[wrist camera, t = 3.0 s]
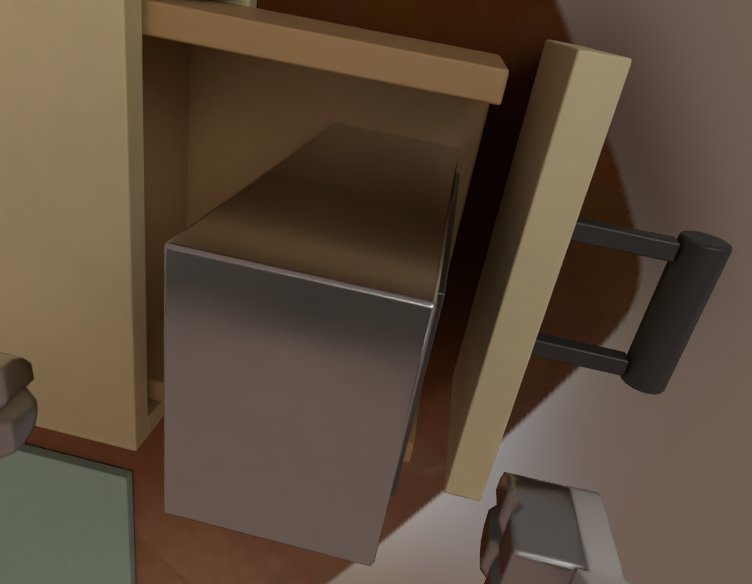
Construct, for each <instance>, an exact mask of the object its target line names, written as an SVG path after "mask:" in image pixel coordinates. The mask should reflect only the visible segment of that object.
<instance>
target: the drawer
mask: <svg viewBox="0 0 752 584" xmlns="http://www.w3.org/2000/svg"><path fill="white" fill-rule="evenodd" d="M141 5H142V71H143V136H144V202H145V267H146V333H147V398H149V399H153V400H157V401H162V402H164V246H165V244H166V243H167V242H168V241H169V240H171V239H172V238H174V237H175V236H176V235H178V234H179V233H181V232H182V231H183V230H185V229H186V228H188V227H189V226H191V225H192V224H193V223H195V222H196V221H198V220H199V219H200V218H202V217H203V216H205V215H206V214H207V213H209V212H210V211H212V210H213V209H214V208H216V207H217V206H219V205H220V204H221V203H223V202H224V201H226V200H227V199H228V198H230V197H231V196H233V195H234V194H235V193H237V192H238V191H240V190H241V189H242V188H244V187H245V186H247V185H248V184H249V183H251V182H252V181H254V180H255V179H256V178H258V177H259V176H261V175H262V174H263V173H265V172H266V171H268V170H269V169H270V168H272V167H273V166H275V165H276V164H277V163H279V162H280V161H282V160H283V159H285V158H286V157H287V156H289V155H290V154H292V153H293V152H294V151H296V150H297V149H299V148H300V147H301V146H303V145H304V144H306V143H307V142H308V141H310V140H311V139H313V138H314V137H315V136H317V135H318V134H320V133H321V132H322V131H324V130H325V129H327V128H328V127H329V126H331V125H332V124H334V123H341V124H346V125H350V126H355V127H360V128H365V129H370V130H375V131H380V132H385V133H389V134H394V135H399V136H404V137H409V138H414V139H419V140H424V141H429V142H433V143H438V144H443V145H448V146H453V147H458V148H459V149H460V153H459V159H458V166H457V173H459V174H460V178H459V186H458V194H457V202H456V210H455V218H454V226H453V234H452V242H451V250H450V258H449V266H450V262H451V258H452V254H453V250H454V246H455V242H456V238H457V233H458V229H459V225H460V221H461V217H462V213H463V209H464V205H465V201H466V197H467V193H468V189H469V185H470V181H471V177H472V173H473V169H474V165H475V161H476V157H477V153H478V149H479V145H480V141H481V137H482V133H483V128H484V124H485V120H486V116H487V112H488V108H489V104H495V105H500V104H501V102H502V98H503V94H504V90H505V86H506V82H507V78H508V75H509V71H508V69H507V67H506V65H505V64H504V62H503V60H502V58H501V57H500V56H499V55H497V54H492V53H487V52H482V51H477V50H471V49H466V48H461V47H456V46H451V45H445V44H440V43H435V42H430V41H425V40H419V39H414V38H409V37H404V36H399V35H393V34H388V33H383V32H378V31H373V30H367V29H362V28H357V27H352V26H347V25H341V24H336V23H331V22H326V21H321V20H315V19H310V18H305V17H300V16H295V15H289V14H284V13H279V12H274V11H269V10H263V9H258V8H253V7H248V6H243V5H237V4H232V3H227V2H222V1H216V0H141ZM630 65H631V59H630V58H627V57H623V56H619V55H615V54H611V53H607V52H603V51H599V50H596V49H592V48H588V47H584V46H580V45H574V44H569V43H564V42H558V41H553V40H546V41H545V44H544V48H543V52H542V55H541V59H540V63H539V66H538V70H537V73H536V77H535V81H534V84H533V88H532V91H531V95H530V99H529V102H528V106H527V110H526V113H525V117H524V120H523V124H522V128H521V131H520V135H519V138H518V142H517V146H516V149H515V153H514V156H513V160H512V164H511V167H510V171H509V175H508V178H507V182H506V185H505V189H504V193H503V196H502V200H501V203H500V207H499V211H498V214H497V218H496V222H495V225H494V229H493V232H492V236H491V240H490V243H489V247H488V250H487V254H486V258H485V261H484V265H483V269H482V272H481V276H480V279H479V283H478V287H477V290H476V294H475V297H474V301H473V305H472V308H471V312H470V315H469V319H468V323H467V326H466V330H465V334H464V337H463V341H462V344H461V348H460V352H459V355H458V359H457V362H456V366H455V370H454V373H453V380H452V393H451V407H450V420H449V434H448V447H447V461H446V474H445V488H444V491H445V493H448V494H452V495H456V496H460V497H465V498H468V499H472V500H477V501H480V500H481V498H482V495H483V492H484V489H485V486H486V483H487V480H488V477H489V475H490V472H491V469H492V466H493V463H494V460H495V457H496V454H497V451H498V448H499V446H500V443H501V440H502V437H503V434H504V431H505V428H506V425H507V422H508V419H509V417H510V414H511V411H512V408H513V405H514V402H515V399H516V396H517V393H518V390H519V387H520V385H521V382H522V379H523V376H524V373H525V370H526V367H527V364H528V361H529V358H530V356H531V355H533V356H538V357H542V358H546V359H551V360H555V361H560V362H564V363H568V364H573V365H577V366H581V367H586V368H590V369H595V370H599V371H603V372H608V373H612V374H617V375H620V376H621V378H622V380H623V381H624V382H625V383H626V384H628V385H629V386H631V387H632V388H634V389H636V390H638V391H641V392H644V393H647V394H660V393H662V392H663V391H664V390H665V388H666V386H667V384H668V381H669V380H670V378H671V375H672V373H673V371H674V369H675V367H676V365H677V363H678V361H679V359H680V357H681V355H682V353H683V351H684V349H685V346H686V345H687V343H688V340H689V338H690V336H691V334H692V332H693V330H694V328H695V326H696V324H697V322H698V320H699V317H700V316H701V314H702V312H703V310H704V307H705V305H706V303H707V301H708V299H709V297H710V295H711V293H712V291H713V289H714V287H715V285H716V283H717V280H718V279H719V277H720V275H721V273H722V270H723V268H724V266H725V264H726V262H727V260H728V258H729V256H730V254H731V252H732V246H731V245H730V244H728V243H727V242H725V241H724V240H722V239H719V238H717V237H715V236H711V235H709V234H705V233H701V232H697V231H683V232H681V233H680V234H679V236H678V239H676V238H674V237H671V236H666V235H662V234H657V233H652V232H647V231H642V230H638V229H633V228H628V227H624V226H619V225H614V224H609V223H605V222H600V221H595V220H590V219H586V218H581V217H578V216H579V213H580V210H581V207H582V204H583V202H584V199H585V196H586V193H587V190H588V187H589V184H590V181H591V178H592V175H593V173H594V170H595V167H596V164H597V161H598V158H599V155H600V152H601V149H602V146H603V144H604V141H605V138H606V135H607V132H608V129H609V126H610V123H611V120H612V117H613V114H614V112H615V109H616V106H617V103H618V100H619V97H620V94H621V91H622V88H623V85H624V83H625V80H626V77H627V74H628V71H629V68H630ZM570 240H571V241H576V242H581V243H585V244H590V245H595V246H599V247H604V248H609V249H613V250H618V251H623V252H627V253H632V254H637V255H641V256H647V257H651V258H655V259H660V260H665V261H668V262H667V264H666V266H665V268H664V271H663V273H662V276H661V278H660V280H659V282H658V285H657V287H656V289H655V292H654V294H653V296H652V298H651V301H650V303H649V305H648V308H647V310H646V312H645V314H644V317H643V319H642V322H641V324H640V326H639V328H638V331H637V333H636V335H635V338H634V340H633V342H632V344H631V347H630V349H629V351H628V354H627V355H626V353H625V352H621V351H617V350H613V349H608V348H604V347H599V346H595V345H591V344H586V343H582V342H577V341H573V340H568V339H564V338H560V337H555V336H551V335H546V334H542V333H538V332H539V329H540V326H541V324H542V321H543V318H544V315H545V312H546V309H547V306H548V303H549V300H550V297H551V295H552V292H553V289H554V286H555V283H556V280H557V277H558V274H559V271H560V268H561V265H562V263H563V260H564V257H565V254H566V251H567V248H568V245H569V242H570ZM449 266H448V270H449ZM422 388H423V385H422ZM421 394H422V389H421V393H420V397H419V401H418V405H417V409H416V413H415V417H414V421H413V425H412V429H411V433H410V437H409V441H408V445H407V449H406V453H405V457H404V461H406V462H409V461H410V457H411V453H412V449H413V445H414V440H415V433H416V427H417V420H418V414H419V407H420V401H421Z"/></svg>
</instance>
